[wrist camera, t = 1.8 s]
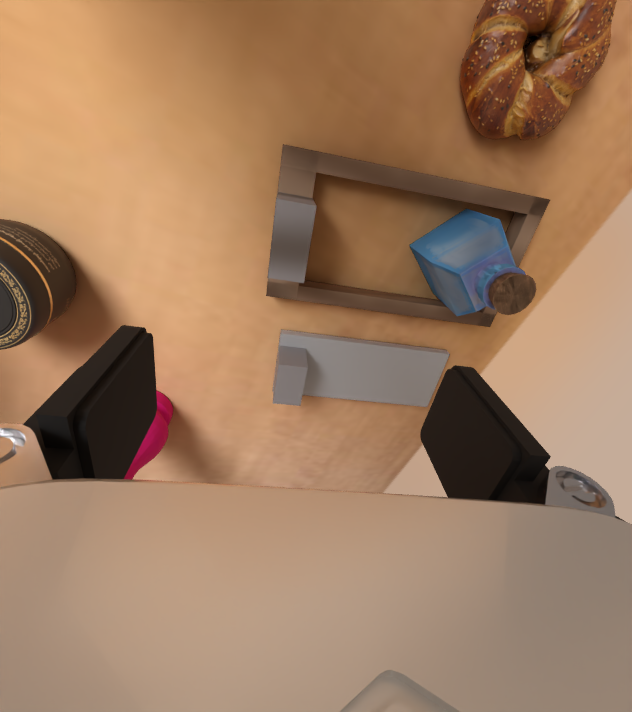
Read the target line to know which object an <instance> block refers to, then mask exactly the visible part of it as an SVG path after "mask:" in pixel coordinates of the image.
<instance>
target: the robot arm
mask: <svg viewBox="0 0 632 712" xmlns="http://www.w3.org/2000/svg"><path fill="white" fill-rule="evenodd" d="M156 412H157V394H156V378H155V362H154V346H153V336H152V334H151V333H147V332H146V329H145V328H142V327H134V326H126V325H123V326H121V327H120V328H119V329H118V330H117V331H116V332H115V333H114V334H113V335H112V336H111V337H110V338H109V339H108V340H107V341H106V343H105V344H104V345H103V346H102V347H101V348H100V349H99V350H98V351H97V352H96V353H95V354H94V355H93V356H92V357H91V358H90V359H89V360H88V361H87V362H86V363H85V364H84V365H83V366H81V367H80V368H78V369H77V370H76V371H75V372H74V373H73V374H72V375H71V376H70V377H69V378H68V379H67V380H66V381H65V382H64V383H63V384H62V385H61V386H60V387H59V388H58V389H57V390H56V391H55V392H54V393H53V394H52V395H51V396H50V398H49V399H48V400H47V401H46V402H45V403H44V404H43V405H42V406H41V407H40V408H39V409H38V410H37V411H36V412H35V413H34V414H33V415H32V416H31V417H30V418H29V419H28V420H27V421H26V422H25V423H24V424H23V425H22V424H15V423H2V424H0V712H632V524H630V523H627V522H625V521H624V520H622V519H620V518H619V517H617V516H615V509H614V504H613V501H612V499H611V497H610V496H609V494H608V493H607V492H606V491H605V490H604V489H603V488H602V487H601V486H600V485H599V484H598V483H597V482H595V481H594V480H593V479H591V478H590V477H588V476H586V475H585V474H583V473H581V472H579V471H576V470H574V469H572V468H568V467H564V466H555V467H553V468H551V469H550V471H549V469H548V468H547V467H546V466H545V464H546V463H547V462H548V460H549V459H550V455H549V454H548V453H547V452H546V451H545V449H544V448H543V447H542V446H541V445H540V444H539V443H538V441H537V440H536V439H535V438H534V437H533V436H532V435H531V433H530V432H529V431H528V430H527V429H526V428H525V427H524V425H523V424H522V423H521V422H520V421H519V420H518V418H517V417H516V416H515V415H514V414H513V413H512V412H511V410H510V409H509V408H508V407H507V406H506V405H505V404H504V402H503V401H502V400H501V399H500V398H499V397H498V396H497V394H496V393H495V392H494V391H493V390H492V389H491V388H490V386H489V385H488V384H487V383H486V382H485V381H484V380H483V378H482V377H481V376H480V375H479V374H478V373H477V371H476V370H475V369H474V368H472V367H464V366H453V367H452V368H451V369H448V370H447V371H446V373H445V375H444V377H443V380H442V382H441V384H440V387H439V389H438V391H437V394H436V396H435V398H434V401H433V403H432V405H431V408H430V410H429V412H428V415H427V417H426V419H425V422H424V424H423V426H422V429H421V433H420V435H421V441H422V443H423V445H424V447H425V449H426V451H427V454H428V455H429V457H430V460H431V462H432V464H433V466H434V468H435V470H436V473H437V475H438V477H439V479H440V481H441V483H442V486H443V488H444V490H445V492H446V494H447V496H448V498H447V497H432V496H417V495H402V494H385V493H369V492H353V491H336V490H319V489H302V488H285V487H266V486H248V485H229V484H211V483H192V482H173V481H155V480H130V479H124V478H125V476H126V474H127V472H128V470H129V468H130V466H131V464H132V462H133V460H134V458H135V456H136V454H137V452H138V450H139V448H140V446H141V444H142V442H143V440H144V438H145V436H146V434H147V432H148V430H149V428H150V426H151V424H152V422H153V420H154V418H155V416H156Z"/></svg>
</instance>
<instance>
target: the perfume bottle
mask: <svg viewBox="0 0 632 712" xmlns="http://www.w3.org/2000/svg"><path fill="white" fill-rule="evenodd" d="M409 246H410V248H411V250H412V252H413V254H414V256H415V258H416V260H417V262H418V264H419V266H420V268H421V270H422V272H423V274H424V276H425V278H426V280H427V282H428V284H429V286H430V288H431V290H432V292H433V294H434V295H436V296H437V297H438V298H439V299H440V300H441V301H442V302H443V303H444V304H445V305H446V306H447V307H448V308H449V309H450V310H451V311H452V312H453V313H454V314H455V315H456V316H461V315H465V314H469V313H474V312H477V311H479V310H481V309H482V308H484V307H486V306H488V307H489V308H491V309H494V310H497V311H498V312H499V313H501V314H505V315H511V314H515V313H518V312H520V311H522V310H523V309H524V308H526V307H527V306H528V305H529V304H530V303H531V301H532V300H533V298H534V296H535V292H536V283H535V281H534V280H533V278H531V277H530V276H528V275H526V274H525V272H524V271H523V270H521V269H520V268H518V267H516V265H515V262H514V259H513V256H512V253H511V250H510V247H509V244H508V241H507V238H506V235H505V232H504V229H503V226H502V224H501V221H500V219H497V218H494V217H491V216H488V215H485V214H482V213H479V212H476V211H472V210H469V209H465V210H463V211H462V212H460V213H458V214H457V215H455V216H454V217H452V218H451V219H449V220H448V221H446V222H444V223H443V224H441V225H440V226H438V227H437V228H435V229H434V230H432V231H431V232H429V233H427V234H426V235H424V236H423V237H421V238H420V239H418V240H417V241H415V242H413V243H412V244H410V245H409Z"/></svg>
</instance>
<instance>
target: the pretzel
mask: <svg viewBox="0 0 632 712" xmlns="http://www.w3.org/2000/svg"><path fill="white" fill-rule="evenodd" d="M616 2H617V0H486V1H485V3H484V5H483V8H482V9H481V11H480V13H479V15H478V16H477V21H476V23H475V25H474V30H473V34H472V38H471V42H470V46H469V47H468V49H467V51H466V53H465V56H464V58H463V59H462V60H463V61H462V64H461V74H460V82H461V89H462V94H463V98H464V100H465V104H466V107H467V112H468V116H469V118H470V120H471V123H472V124H473V126H474V127H475V129H476V130H477V131H478V132H479V133H480V134H481V135H482V136H484V137H486V138H490V139H499V138H504V137H509V136H512V135H514V134H517V135H519V137H520V139H521V140H530V139H535V138H539V137H541V136H543V135H545V134H547V133H548V132H550V131H551V130H552V129H554V128H555V127H556V126H557V125H558V123H559V122H560V121H561V120H562V118H563V117H564V115H565V114H566V112H567V110H568V108H569V107H570V104H571V97H572V95H573V93H574V92H575V91H577V90H579V89H581V88H583V87H584V86H585V85H586V83H587V82H588V81H589V80H590V79H591V78H592V77H593V76H594V75H595V73H596V72H597V71H598V70H599V69H600V68H601V66H602V64H603V63H604V60H605V57H606V55H607V53H608V48H609V46H610V38H611V33H610V31H611V21H612V17H613V15H614V9H615V4H616ZM527 36H537V38H536V39H535V40H534V41H533V42H532V43H530V44H529V45H528V46H527V47H526V48H525V49H524V51H523V45H524V43H525V41H526V38H527ZM524 53H525V54H524Z"/></svg>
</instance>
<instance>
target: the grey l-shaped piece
mask: <svg viewBox="0 0 632 712" xmlns="http://www.w3.org/2000/svg"><path fill="white" fill-rule="evenodd" d="M449 355H450V354H449V353H448V351H447V350H442V349H434V348H426V347H418V346H410V345H402V344H394V343H386V342H378V341H370V340H362V339H354V338H346V337H338V336H330V335H322V334H314V333H306V332H298V331H290V330H282V329H281V333H280V340H279V347H278V354H277V361H276V369H275V376H274V383H273V392H274V393H273V403H276V404H287V405H298V406H300V405H301V400H302V395H308V396H318V397H328V398H339V399H349V400H359V401H370V402H380V403H390V404H401V405H411V406H422V407H427V406H428V404H429V402H430V399H431V397H432V395H433V392H434V390H435V388H436V385H437V383H438V381H439V378H440V376H441V374H442V371H443V369H444V367H445V364H446V362H447V360H448V357H449Z"/></svg>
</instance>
